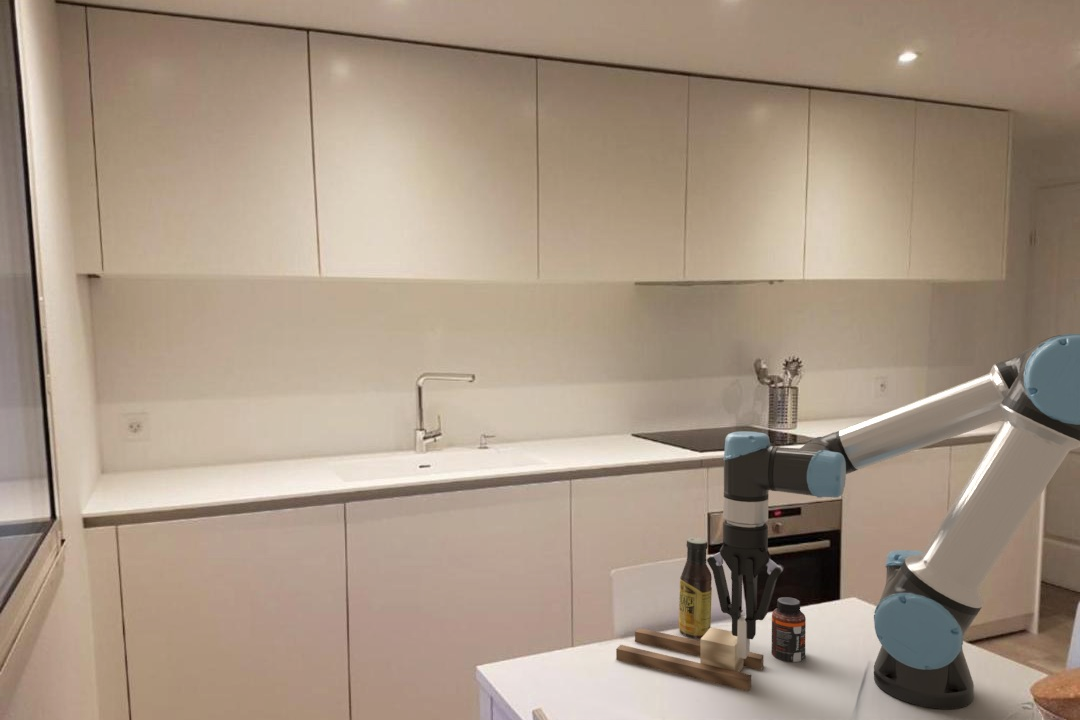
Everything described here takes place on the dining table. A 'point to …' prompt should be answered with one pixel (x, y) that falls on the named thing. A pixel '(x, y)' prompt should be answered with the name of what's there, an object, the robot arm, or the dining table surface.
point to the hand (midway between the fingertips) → (743, 654)
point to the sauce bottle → (695, 591)
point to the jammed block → (720, 650)
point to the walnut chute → (682, 665)
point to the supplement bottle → (788, 631)
